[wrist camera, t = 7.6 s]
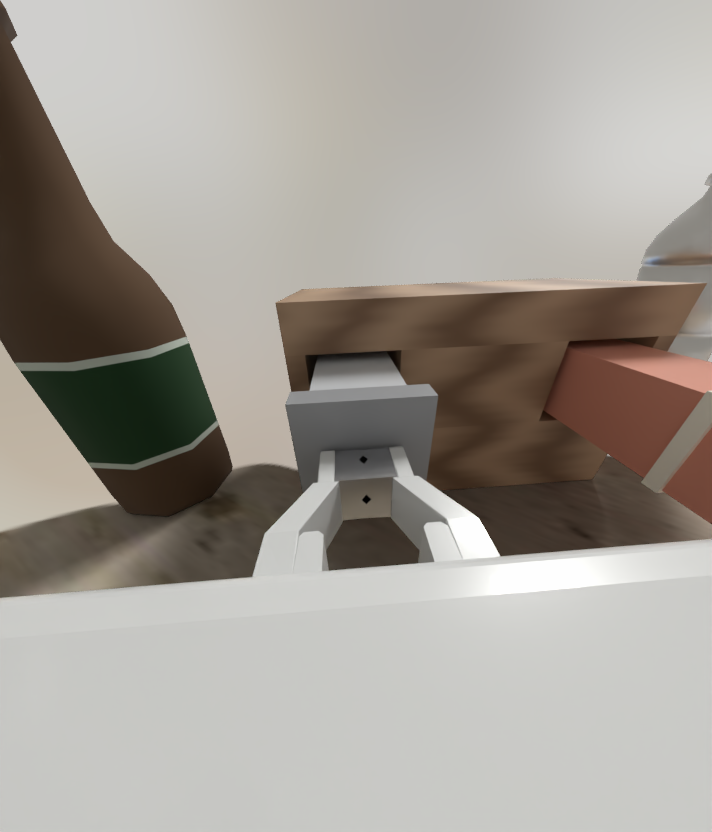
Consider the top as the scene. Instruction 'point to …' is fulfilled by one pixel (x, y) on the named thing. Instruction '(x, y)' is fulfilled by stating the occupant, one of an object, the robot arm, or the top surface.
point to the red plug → (642, 413)
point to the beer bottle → (95, 323)
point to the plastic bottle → (687, 271)
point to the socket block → (486, 360)
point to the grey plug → (360, 412)
